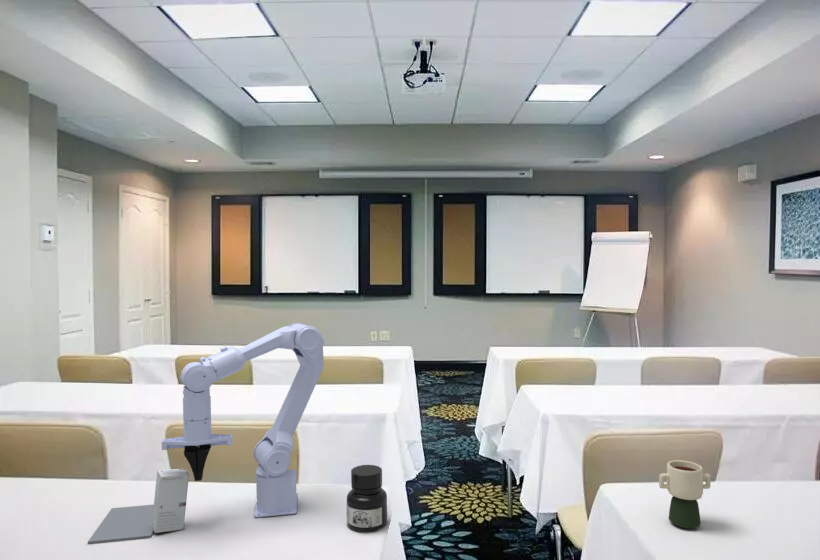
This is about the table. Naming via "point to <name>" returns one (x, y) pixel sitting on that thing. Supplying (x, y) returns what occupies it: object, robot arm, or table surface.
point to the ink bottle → (366, 499)
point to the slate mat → (125, 525)
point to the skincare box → (170, 500)
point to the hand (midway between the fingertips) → (198, 479)
